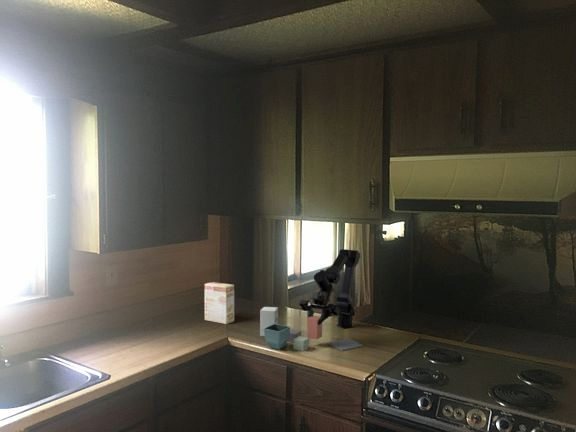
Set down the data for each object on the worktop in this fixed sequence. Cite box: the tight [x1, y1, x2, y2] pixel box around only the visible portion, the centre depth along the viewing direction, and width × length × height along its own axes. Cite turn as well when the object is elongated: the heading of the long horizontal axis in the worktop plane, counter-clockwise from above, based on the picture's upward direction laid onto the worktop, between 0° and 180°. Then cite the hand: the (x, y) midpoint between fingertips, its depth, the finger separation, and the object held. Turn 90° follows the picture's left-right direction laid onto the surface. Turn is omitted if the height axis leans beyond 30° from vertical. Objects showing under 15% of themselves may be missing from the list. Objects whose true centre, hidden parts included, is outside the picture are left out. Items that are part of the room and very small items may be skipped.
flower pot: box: [264, 323, 291, 350], centre depth 221 cm, size 9×9×9 cm
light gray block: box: [287, 329, 302, 344], centre depth 230 cm, size 5×5×4 cm
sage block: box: [292, 336, 310, 352], centre depth 220 cm, size 5×5×4 cm
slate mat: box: [326, 338, 364, 352], centre depth 225 cm, size 12×11×1 cm
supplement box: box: [259, 306, 279, 337], centre depth 239 cm, size 7×7×13 cm
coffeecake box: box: [204, 281, 235, 325], centre depth 262 cm, size 15×7×20 cm, turn 58°
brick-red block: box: [306, 315, 323, 341], centre depth 224 cm, size 5×5×9 cm
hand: (313, 323), depth 223 cm, fingers closed on brick-red block, 5 cm apart
